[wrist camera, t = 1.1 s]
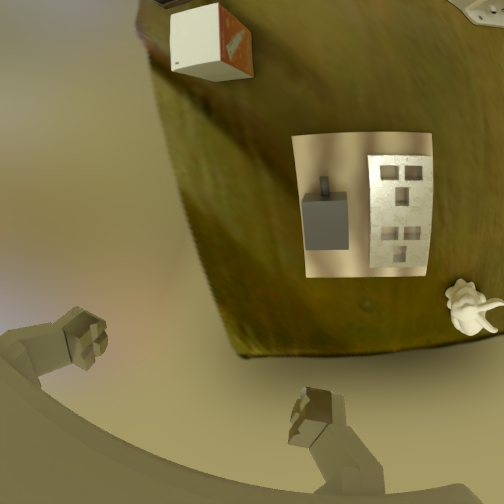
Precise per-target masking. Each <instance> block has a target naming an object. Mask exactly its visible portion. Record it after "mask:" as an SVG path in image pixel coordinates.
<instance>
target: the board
mask: <svg viewBox="0 0 504 504" xmlns="http://www.w3.org/2000/svg"><path fill="white" fill-rule="evenodd" d="M292 142H293V150H294V158H295V166H296V174H297V182H298V191H299V200H300V210H301V220H302V231H303V242H304V254H305V267H306V277H395V276H426V269H427V264H426V267H391V268H370V267H369V261H368V255H369V199H368V176H367V160H366V154H383V153H389V154H427V155H430V156H432V206H433V149H432V133H420V132H342V133H324V134H310V135H298V136H292ZM404 168H405V177H418V169H417V166H408V165H404ZM320 176H328V178H329V190H330V192H346V193H347V200H348V224H349V250H306V249H305V237H304V226H303V215H302V205H301V201H302V199H303V197H304V195H305V193H320V182H319V177H320ZM380 177H396V176H395V165H380ZM395 201H405V187H395ZM431 223H432V212H431ZM389 233H395V227H381V234H389ZM404 233H416V226H409V227H404ZM430 235H431V227H430ZM429 245H430V239H429ZM402 253H403V246H394V253H393V255H402ZM428 254H429V248H428ZM427 262H428V257H427Z"/></svg>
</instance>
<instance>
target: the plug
mask: <svg viewBox="0 0 504 504" xmlns="http://www.w3.org/2000/svg"><path fill="white" fill-rule="evenodd" d="M319 182H320V193H305V195H304V197H303V199H302V201H301V205H302V215H303V226H304V237H305V249H306V250H349V224H348V200H347V193H346V192H330V190H329V178H328V176H320V177H319Z"/></svg>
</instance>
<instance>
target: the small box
mask: <svg viewBox="0 0 504 504" xmlns="http://www.w3.org/2000/svg"><path fill="white" fill-rule="evenodd" d="M170 51H171V70H172V71H174V72H178V73H183V74H187V75H191V76H195V77H199V78H202V79H206V80H210V81H214V82H220V81H227V80H235V79H245V78H254V70H253V56H252V35H251V32H250V31H249V30H248V29H247V28H246V27H245V26H244V25H243V24H242V23H241V22H240V21H238V20H237V19H236V18H235V17H234V16H233V15H232V14H231V13H229V12H228V11H227V10H226V9H225V8H224V7H223V6H221V5H220V4H219V3H215V4H210V5H206V6H202V7H198V8H194V9H190V10H186V11H183V12H179V13H176V14H172V15H171V20H170Z"/></svg>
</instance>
